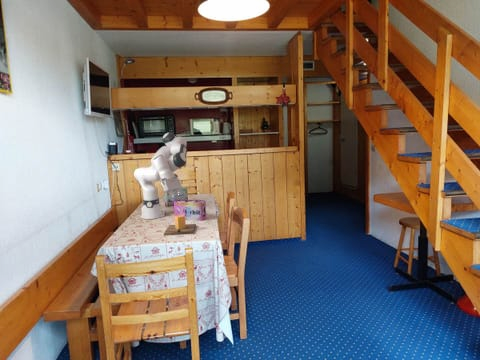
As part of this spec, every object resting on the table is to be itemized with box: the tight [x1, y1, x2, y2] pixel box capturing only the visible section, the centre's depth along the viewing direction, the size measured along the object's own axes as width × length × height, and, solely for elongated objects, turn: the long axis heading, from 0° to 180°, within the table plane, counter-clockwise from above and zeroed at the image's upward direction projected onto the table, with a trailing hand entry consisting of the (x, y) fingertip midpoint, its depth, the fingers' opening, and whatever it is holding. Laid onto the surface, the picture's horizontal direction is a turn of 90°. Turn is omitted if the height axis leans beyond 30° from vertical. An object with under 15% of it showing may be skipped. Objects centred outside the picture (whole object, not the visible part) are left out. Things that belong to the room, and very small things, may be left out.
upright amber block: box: [174, 215, 186, 229], centre depth 207 cm, size 5×5×8 cm
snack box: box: [163, 186, 189, 208], centre depth 292 cm, size 21×6×15 cm, turn 131°
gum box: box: [173, 199, 207, 221], centre depth 237 cm, size 24×8×14 cm, turn 69°
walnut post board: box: [163, 223, 197, 236], centre depth 208 cm, size 18×18×7 cm
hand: (177, 196), depth 215 cm, fingers open, 8 cm apart
